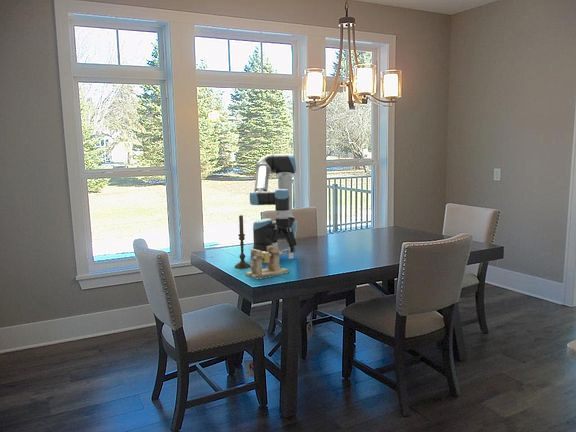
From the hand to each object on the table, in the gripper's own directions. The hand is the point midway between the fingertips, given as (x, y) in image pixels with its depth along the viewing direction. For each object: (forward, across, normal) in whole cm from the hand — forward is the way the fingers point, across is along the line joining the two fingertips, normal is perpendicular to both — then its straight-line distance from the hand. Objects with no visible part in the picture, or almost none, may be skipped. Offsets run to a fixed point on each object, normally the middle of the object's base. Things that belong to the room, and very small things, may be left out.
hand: (283, 256), depth 257 cm
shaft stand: (+8, 0, -11) cm, 13 cm away
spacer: (+1, 0, -13) cm, 13 cm away
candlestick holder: (+8, -22, -12) cm, 26 cm away
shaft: (0, 0, -6) cm, 6 cm away
